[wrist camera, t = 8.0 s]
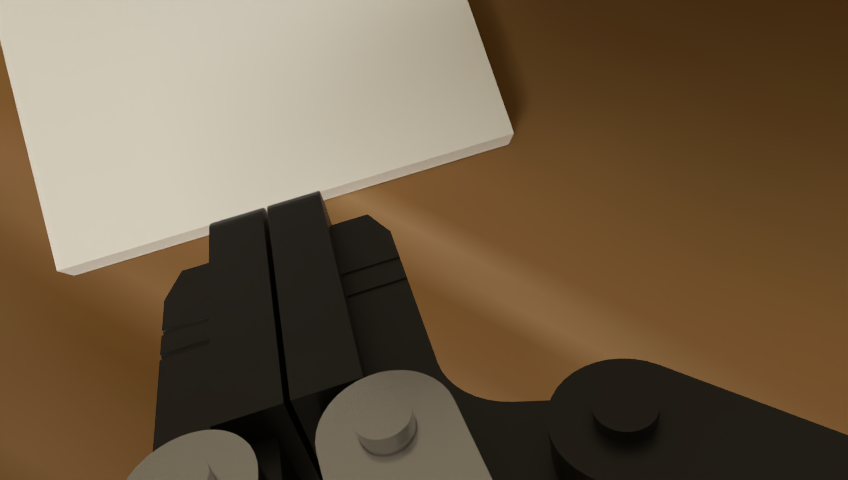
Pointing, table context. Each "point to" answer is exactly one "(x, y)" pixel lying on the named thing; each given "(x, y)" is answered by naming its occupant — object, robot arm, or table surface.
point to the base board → (233, 108)
